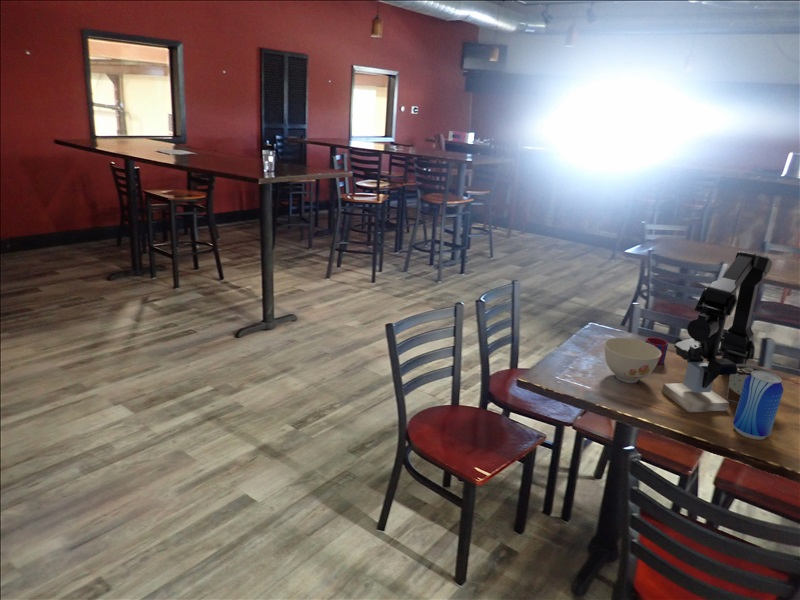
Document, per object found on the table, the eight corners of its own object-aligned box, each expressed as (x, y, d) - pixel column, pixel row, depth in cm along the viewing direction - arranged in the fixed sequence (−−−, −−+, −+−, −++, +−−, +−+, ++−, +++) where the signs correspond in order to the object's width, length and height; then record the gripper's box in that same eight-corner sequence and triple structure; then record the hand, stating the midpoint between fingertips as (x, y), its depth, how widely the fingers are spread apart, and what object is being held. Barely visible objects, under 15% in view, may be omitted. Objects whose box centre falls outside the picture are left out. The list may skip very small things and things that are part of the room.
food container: (770, 402, 167) (779, 370, 163) (770, 411, 161) (779, 378, 158) (721, 390, 172) (729, 359, 169) (720, 398, 167) (728, 366, 164)
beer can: (759, 444, 144) (777, 386, 139) (725, 429, 151) (740, 373, 145) (774, 435, 149) (792, 379, 144) (741, 420, 155) (756, 366, 150)
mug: (638, 359, 190) (642, 340, 188) (649, 351, 198) (653, 333, 195) (659, 366, 186) (664, 347, 184) (670, 358, 193) (674, 339, 191)
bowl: (599, 384, 171) (605, 353, 168) (598, 363, 186) (603, 334, 183) (657, 394, 167) (664, 363, 164) (652, 372, 182) (658, 342, 178)
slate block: (698, 383, 166) (704, 361, 164) (710, 392, 162) (716, 369, 159) (683, 384, 165) (688, 362, 163) (694, 392, 161) (700, 369, 158)
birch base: (698, 390, 171) (700, 382, 171) (727, 410, 160) (729, 402, 160) (662, 391, 169) (663, 383, 168) (688, 412, 158) (690, 404, 157)
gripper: (663, 319, 165) (652, 369, 170) (707, 346, 148) (694, 400, 153) (698, 319, 167) (686, 368, 172) (745, 345, 150) (731, 399, 155)
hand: (697, 383), depth 163 cm, fingers closed on slate block, 5 cm apart
